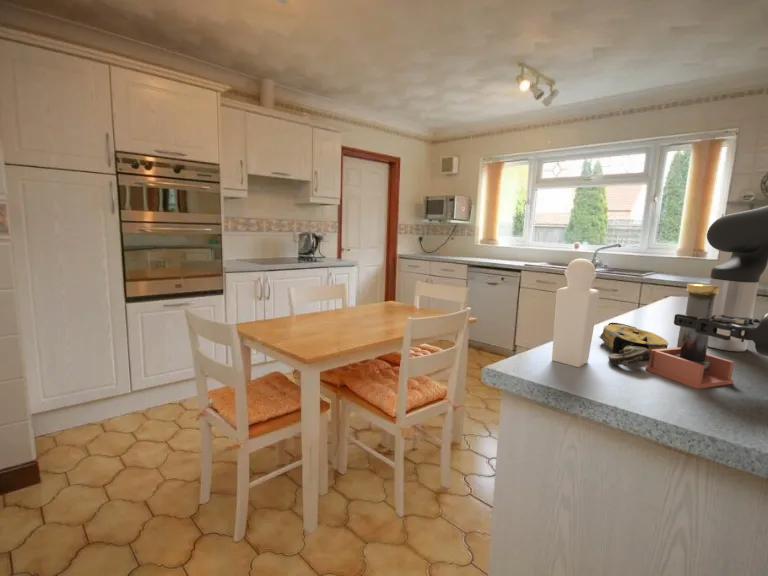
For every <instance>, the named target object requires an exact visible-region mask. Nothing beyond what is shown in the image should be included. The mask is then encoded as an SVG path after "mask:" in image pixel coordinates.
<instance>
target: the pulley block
mask: <svg viewBox="0 0 768 576" xmlns="http://www.w3.org/2000/svg"><path fill="white" fill-rule="evenodd" d="M599 338H600V339H601V340H602V341H603V342H602V343H605V344H606V346H607V347H608V348H609V349H610V350H611V352H612V353H610V354H609V355H608V356H607V357H608V361H609V363H610V364H612V365H616V366H625V367H627V366H628V365H629V364H634V363H637V362H640V361H645V360H649V357H650V351H651V350H654V349H665V348H668V345H669V343H668V341H667V340H666V339H665V338H663V337H662V336H660V335H658V334H656V333H654V332H651V331H648V330H643V329H640V328H638V327H635V326H632V325H629V324H624V323H621V322H619V323H618V322H609V323H608V324H607V325H604V326H603V329H602V333H601V334H600V336H599Z"/></svg>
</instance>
